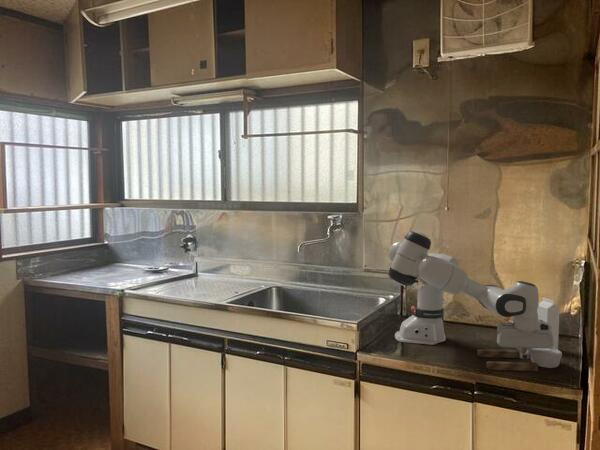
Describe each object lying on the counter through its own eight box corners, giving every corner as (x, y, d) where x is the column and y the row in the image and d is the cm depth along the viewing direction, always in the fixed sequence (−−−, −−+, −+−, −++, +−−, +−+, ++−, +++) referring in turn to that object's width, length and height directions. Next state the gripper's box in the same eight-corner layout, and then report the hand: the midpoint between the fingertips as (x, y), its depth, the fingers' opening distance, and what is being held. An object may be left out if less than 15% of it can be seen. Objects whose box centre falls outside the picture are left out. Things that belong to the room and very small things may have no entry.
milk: (546, 353, 204) (547, 301, 202) (535, 349, 209) (536, 297, 207) (558, 352, 205) (559, 299, 203) (547, 347, 211) (548, 296, 209)
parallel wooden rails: (487, 369, 187) (488, 363, 186) (477, 355, 202) (477, 349, 202) (537, 371, 185) (538, 364, 185) (523, 356, 201) (523, 350, 200)
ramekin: (568, 367, 188) (568, 353, 188) (544, 370, 185) (544, 356, 185) (546, 357, 199) (546, 344, 198) (522, 360, 196) (523, 347, 195)
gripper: (499, 324, 189) (498, 360, 191) (555, 326, 187) (554, 362, 188) (495, 320, 196) (494, 354, 197) (549, 321, 193) (548, 356, 194)
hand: (524, 358), depth 192 cm, fingers closed
